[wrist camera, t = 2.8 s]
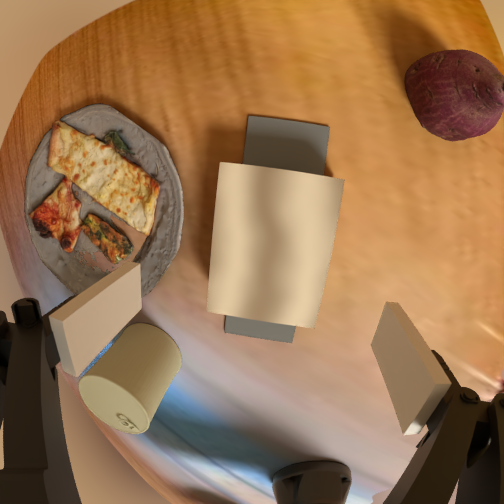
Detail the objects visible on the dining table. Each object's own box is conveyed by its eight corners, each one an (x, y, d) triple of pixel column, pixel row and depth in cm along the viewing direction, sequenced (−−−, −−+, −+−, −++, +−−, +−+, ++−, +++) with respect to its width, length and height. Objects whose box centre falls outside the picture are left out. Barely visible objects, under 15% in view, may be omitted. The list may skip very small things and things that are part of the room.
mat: (329, 127, 26) (329, 127, 26) (292, 341, 33) (291, 343, 33) (249, 116, 27) (248, 115, 26) (225, 331, 33) (224, 332, 33)
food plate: (18, 222, 33) (3, 227, 30) (79, 81, 27) (63, 76, 24) (130, 329, 36) (118, 342, 33) (228, 187, 30) (222, 189, 26)
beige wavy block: (335, 178, 27) (344, 179, 23) (311, 307, 31) (314, 328, 27) (230, 163, 28) (220, 161, 23) (217, 292, 32) (206, 311, 28)
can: (152, 384, 38) (119, 441, 26) (110, 338, 36) (64, 388, 25) (195, 363, 36) (165, 430, 24) (149, 311, 34) (99, 366, 23)
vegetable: (433, 154, 28) (496, 199, 15) (383, 81, 25) (432, 75, 13) (488, 112, 23) (565, 138, 10) (443, 40, 20) (513, 21, 7)
